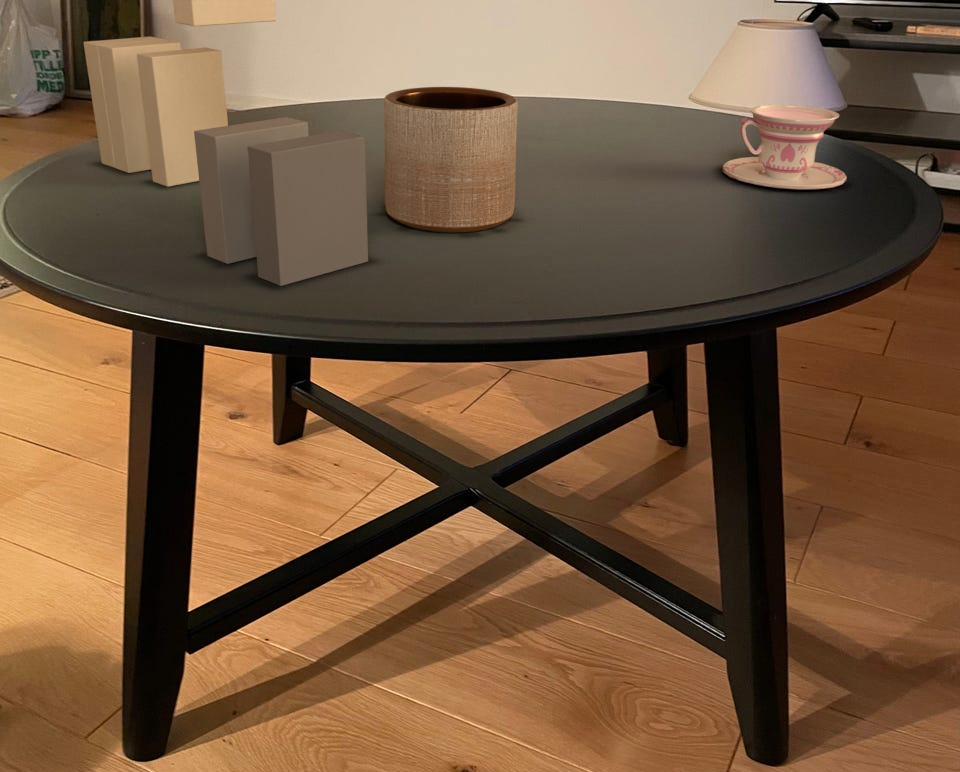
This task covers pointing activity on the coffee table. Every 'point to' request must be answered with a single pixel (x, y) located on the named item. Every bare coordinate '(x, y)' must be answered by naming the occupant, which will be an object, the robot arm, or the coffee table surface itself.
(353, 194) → the grey books
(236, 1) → the cream book
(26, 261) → the coffee table surface
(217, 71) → the cream books
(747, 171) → the teacup
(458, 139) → the planter
